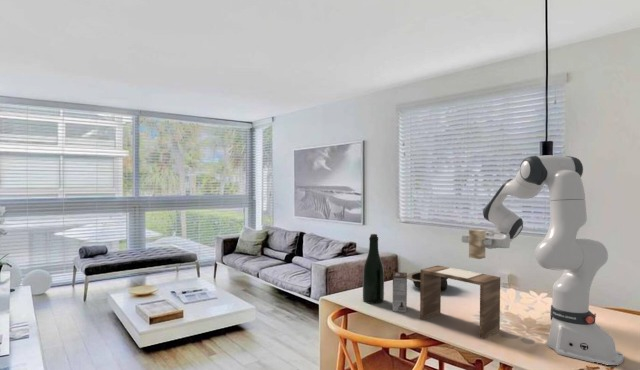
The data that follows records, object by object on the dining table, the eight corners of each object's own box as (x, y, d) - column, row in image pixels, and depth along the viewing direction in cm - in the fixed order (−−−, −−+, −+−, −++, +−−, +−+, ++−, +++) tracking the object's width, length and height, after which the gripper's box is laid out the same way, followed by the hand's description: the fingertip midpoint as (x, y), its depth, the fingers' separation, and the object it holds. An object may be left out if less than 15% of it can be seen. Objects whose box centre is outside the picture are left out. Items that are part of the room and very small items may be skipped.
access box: (499, 329, 158) (500, 276, 158) (483, 338, 149) (484, 282, 149) (437, 311, 179) (437, 264, 179) (420, 318, 170) (420, 269, 170)
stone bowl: (462, 288, 217) (461, 272, 217) (431, 299, 203) (431, 282, 203) (426, 278, 238) (426, 263, 237) (396, 287, 224) (396, 271, 223)
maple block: (485, 257, 174) (485, 230, 174) (479, 259, 170) (480, 231, 170) (474, 256, 178) (474, 229, 177) (468, 257, 174) (469, 230, 174)
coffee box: (392, 305, 189) (393, 271, 188) (406, 306, 187) (406, 272, 187) (392, 311, 180) (392, 276, 179) (406, 312, 178) (407, 277, 178)
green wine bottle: (360, 302, 192) (361, 235, 191) (364, 296, 202) (364, 232, 201) (382, 304, 189) (383, 235, 189) (385, 298, 199) (385, 233, 199)
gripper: (469, 229, 190) (454, 232, 181) (513, 234, 175) (499, 237, 166) (469, 243, 190) (454, 246, 181) (513, 248, 175) (499, 252, 166)
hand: (476, 241), depth 173 cm, fingers closed on maple block, 5 cm apart
